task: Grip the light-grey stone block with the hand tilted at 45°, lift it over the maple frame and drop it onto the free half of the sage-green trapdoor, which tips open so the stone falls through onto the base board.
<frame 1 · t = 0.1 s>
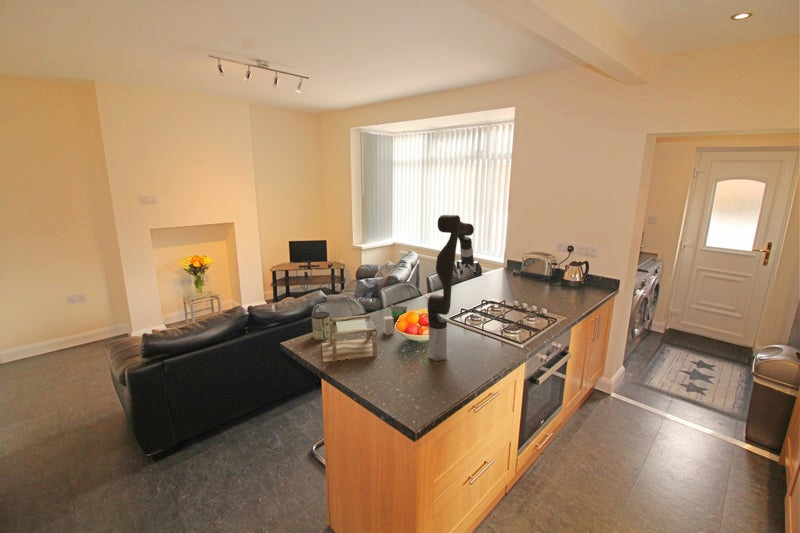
hand: (468, 275, 233), 31 cm above the worktop, tool tilted 20°, fingers open, 8 cm apart
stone: (388, 333, 222), on the worktop
trapdoor: (356, 328, 198), point 12 cm above the worktop, hinge at -0.3°
trapdoor frame: (352, 349, 200), on the worktop
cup: (433, 316, 249), on the worktop
food container: (397, 320, 243), on the worktop
coffee can: (321, 336, 219), on the worktop
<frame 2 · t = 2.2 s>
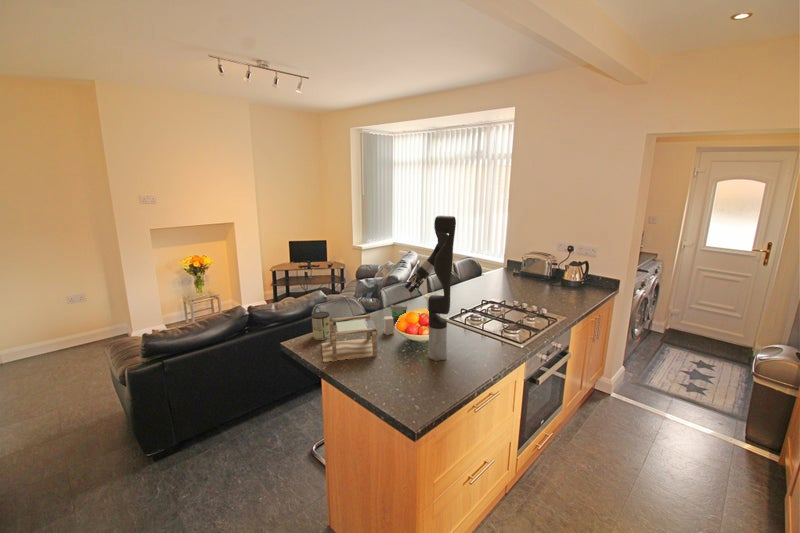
hand: (407, 289, 219), 26 cm above the worktop, tool tilted 45°, fingers open, 8 cm apart
trapdoor: (356, 328, 198), point 12 cm above the worktop, hinge at -1.3°
everything else where it was.
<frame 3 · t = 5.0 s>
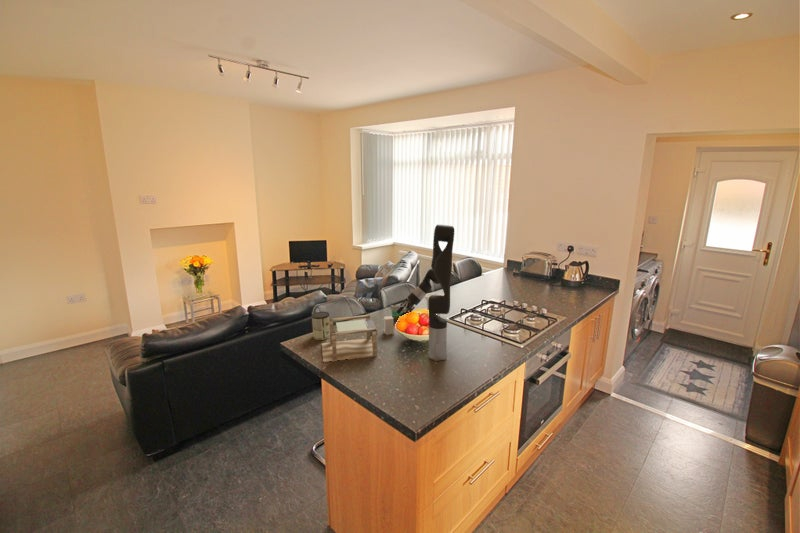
hand: (399, 315, 221), 11 cm above the worktop, tool tilted 45°, fingers open, 8 cm apart
trapdoor: (356, 328, 198), point 12 cm above the worktop, hinge at -1.7°
everything else where it was.
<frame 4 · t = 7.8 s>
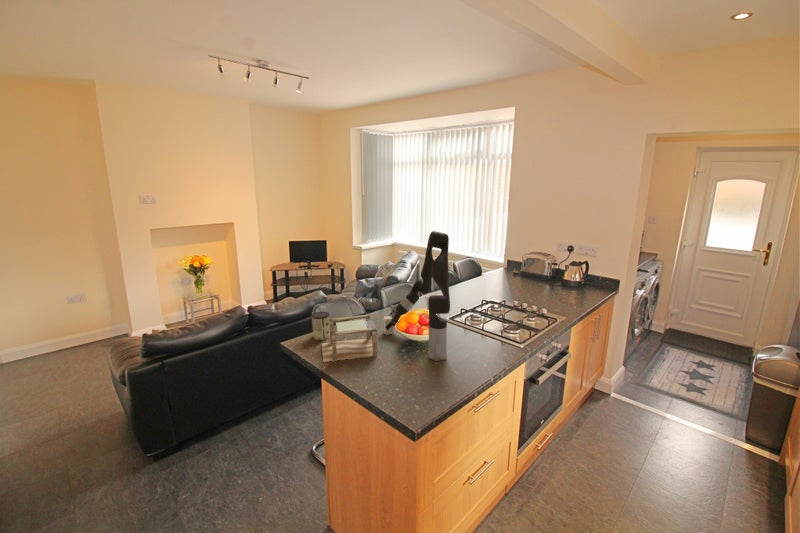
hand: (385, 327, 221), 4 cm above the worktop, tool tilted 45°, fingers closed on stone, 5 cm apart
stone: (388, 333, 222), on the worktop, touching gripper
everything else where it was.
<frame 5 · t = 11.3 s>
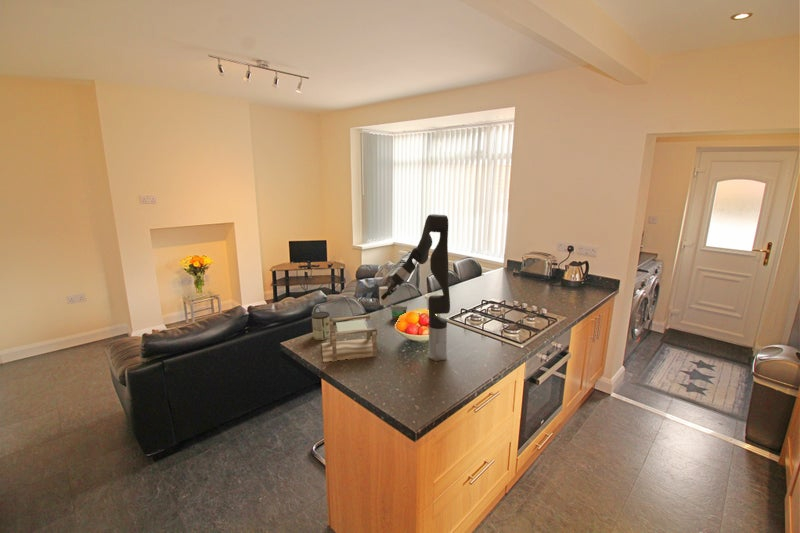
hand: (381, 297, 214), 24 cm above the worktop, tool tilted 45°, fingers closed on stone, 5 cm apart
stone: (384, 303, 215), point 20 cm above the worktop, touching gripper
everything else where it was.
when the fingers open (21 cm above the worktop, at t = 14.7 s): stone drops 8 cm and tips over, resting on trapdoor, trapdoor frame.
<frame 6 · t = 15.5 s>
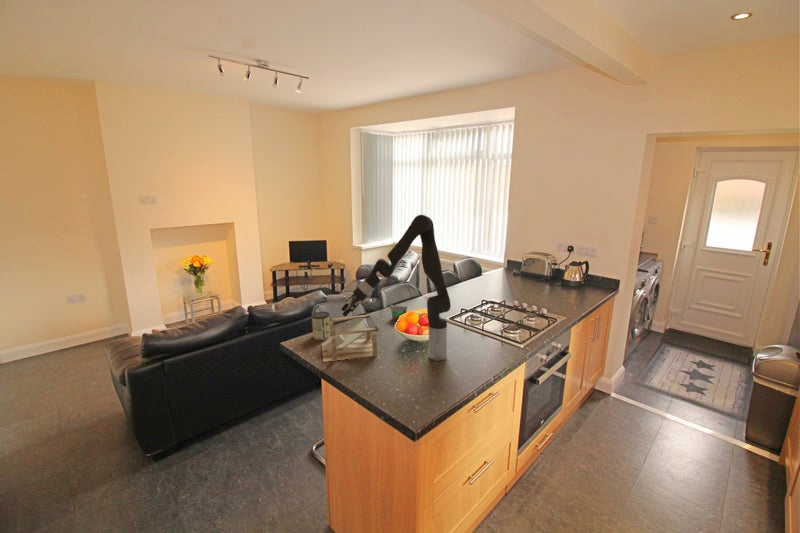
hand: (343, 312, 195), 22 cm above the worktop, tool tilted 45°, fingers open, 8 cm apart
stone: (341, 336, 197), point 8 cm above the worktop, tilted 126°, touching trapdoor, trapdoor frame
trapdoor: (359, 332, 199), point 9 cm above the worktop, hinge at -31.6°, touching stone
everything else where it was.
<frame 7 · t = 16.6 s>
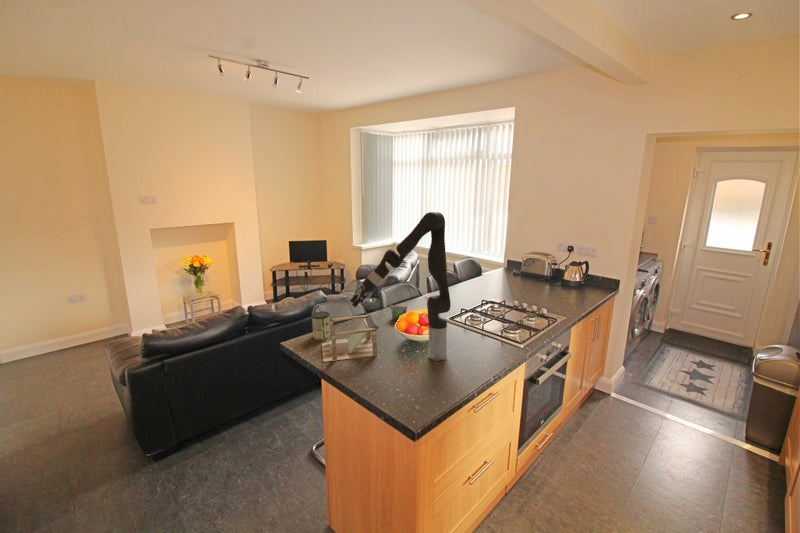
hand: (352, 303, 194), 26 cm above the worktop, tool tilted 45°, fingers open, 8 cm apart
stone: (347, 344, 199), point 3 cm above the worktop, tilted 90°, touching trapdoor, trapdoor frame
trapdoor: (362, 334, 200), point 8 cm above the worktop, hinge at -49.3°, touching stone
everything else where it was.
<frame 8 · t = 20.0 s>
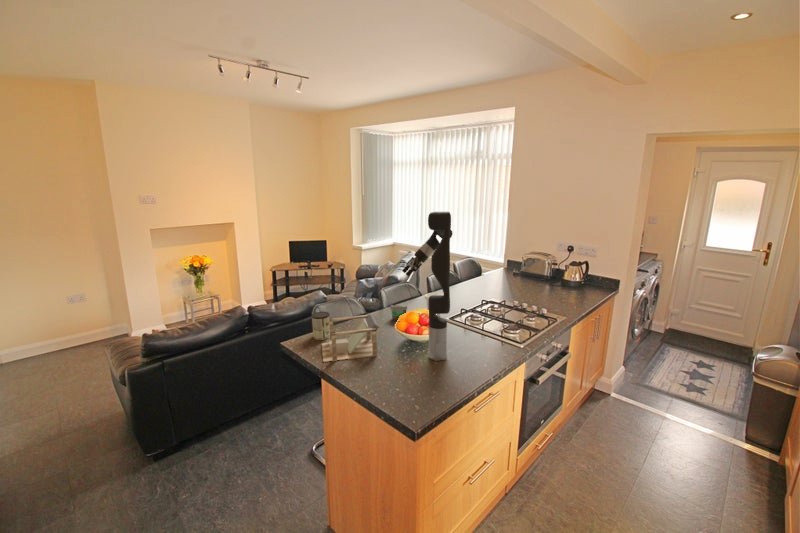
hand: (405, 273, 208), 39 cm above the worktop, tool tilted 45°, fingers open, 8 cm apart
nothing on the worktop moved.
at the end: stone point 3.1 cm above the worktop; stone 2.7 cm from the trapdoor frame (horizontally); the gripper is holding nothing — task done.
